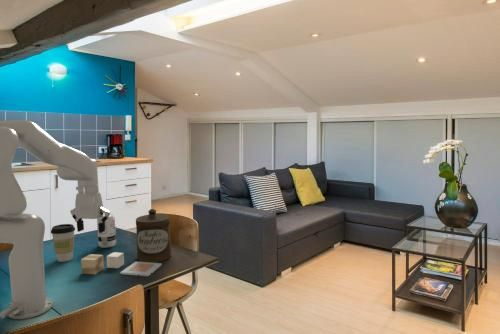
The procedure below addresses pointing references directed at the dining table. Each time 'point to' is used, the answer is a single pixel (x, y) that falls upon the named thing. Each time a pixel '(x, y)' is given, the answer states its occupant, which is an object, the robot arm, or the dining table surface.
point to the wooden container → (153, 237)
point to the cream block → (115, 260)
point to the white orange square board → (141, 268)
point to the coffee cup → (63, 241)
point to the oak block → (92, 264)
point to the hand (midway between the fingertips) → (91, 231)
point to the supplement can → (107, 233)
